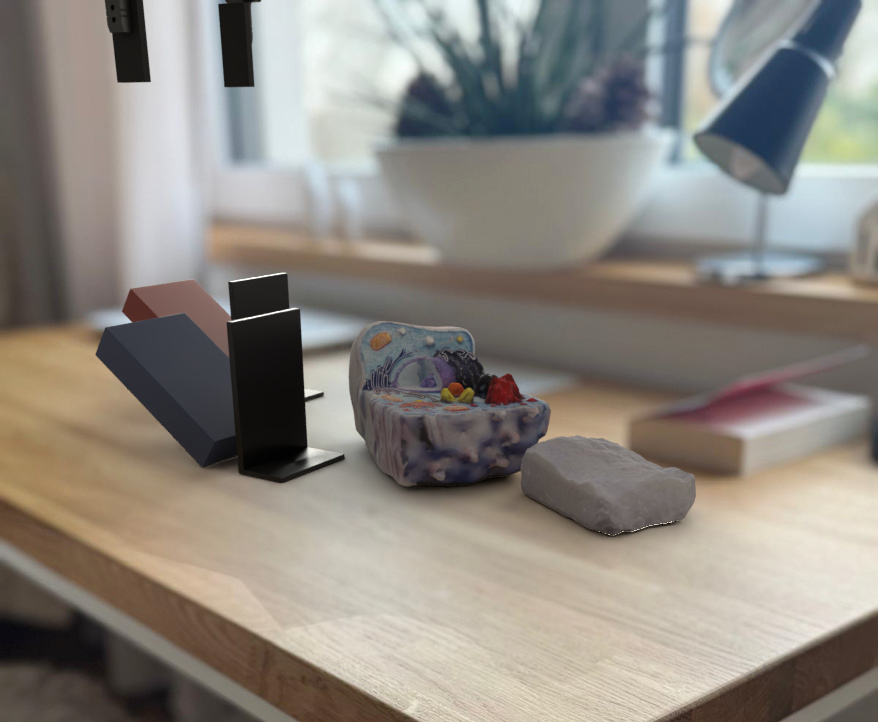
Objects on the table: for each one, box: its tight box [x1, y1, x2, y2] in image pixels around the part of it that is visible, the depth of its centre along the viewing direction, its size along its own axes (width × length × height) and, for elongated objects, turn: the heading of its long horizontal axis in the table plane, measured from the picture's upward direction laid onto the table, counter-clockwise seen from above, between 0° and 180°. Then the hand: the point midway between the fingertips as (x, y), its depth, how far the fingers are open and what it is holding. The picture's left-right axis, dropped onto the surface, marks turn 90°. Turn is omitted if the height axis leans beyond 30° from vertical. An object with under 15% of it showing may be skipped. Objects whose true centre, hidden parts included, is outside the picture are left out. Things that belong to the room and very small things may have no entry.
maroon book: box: [121, 278, 231, 357], centre depth 113 cm, size 14×9×3 cm
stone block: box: [520, 434, 697, 535], centre depth 78 cm, size 12×5×10 cm
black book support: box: [227, 307, 346, 484], centre depth 86 cm, size 5×8×12 cm, turn 147°
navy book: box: [94, 313, 237, 469], centre depth 92 cm, size 14×9×3 cm
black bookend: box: [227, 272, 325, 402], centre depth 107 cm, size 5×8×12 cm, turn 147°
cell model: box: [348, 320, 552, 488], centre depth 87 cm, size 13×11×20 cm
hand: (190, 85), depth 89 cm, fingers open, 13 cm apart
